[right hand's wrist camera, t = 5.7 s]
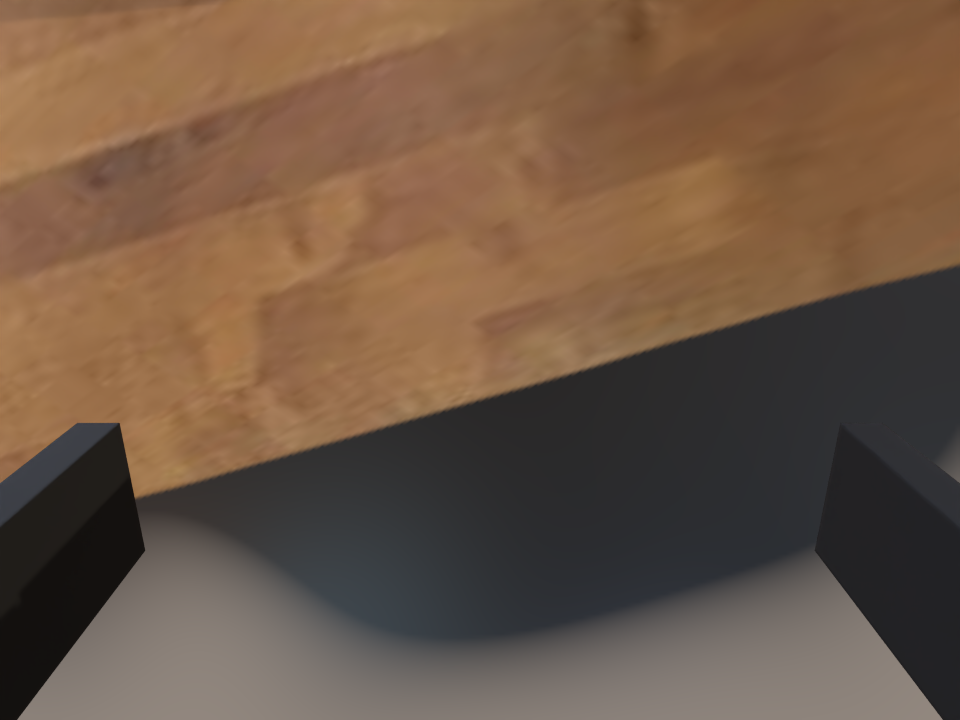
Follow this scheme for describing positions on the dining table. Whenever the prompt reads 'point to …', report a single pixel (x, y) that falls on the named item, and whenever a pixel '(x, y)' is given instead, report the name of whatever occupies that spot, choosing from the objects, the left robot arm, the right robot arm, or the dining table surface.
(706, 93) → the dining table surface
